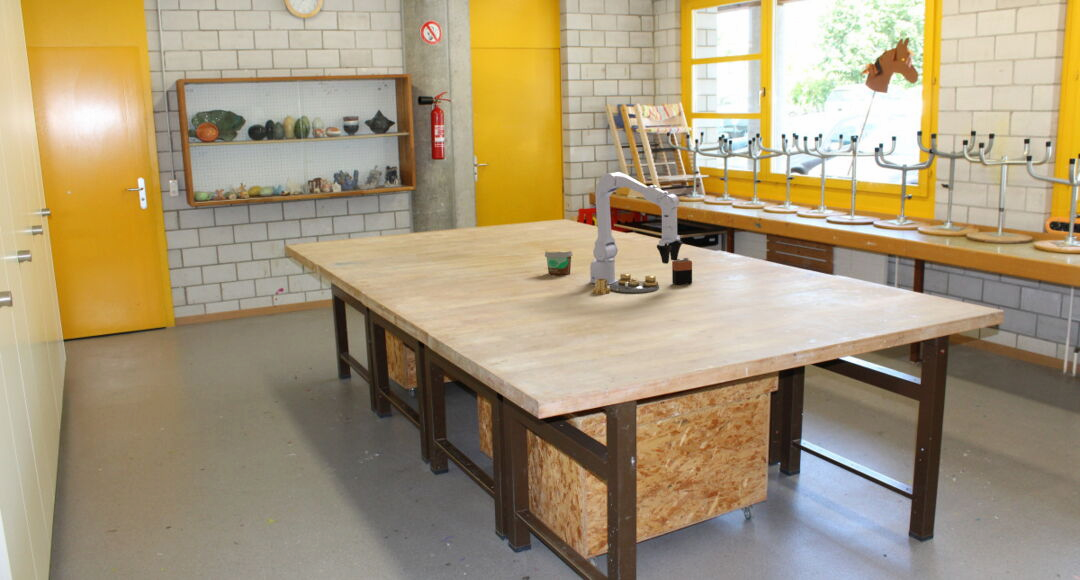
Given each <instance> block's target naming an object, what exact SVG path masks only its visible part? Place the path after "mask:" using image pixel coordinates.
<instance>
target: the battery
mask: <svg viewBox="0 0 1080 580" xmlns="http://www.w3.org/2000/svg"><path fill="white" fill-rule="evenodd" d="M671 261H672V263H671V265H672V267H671V271H672V273H671V274H672V277H671V278H672V279H671V280H672V281H671V282H672V284H673V285H675V286H681V285H682V286H683V285H692V284H693V261H692V260H690V257H683V258H682V259H680V258H677V260H671Z"/></svg>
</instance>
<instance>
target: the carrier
mask: <svg viewBox="0 0 1080 580" xmlns="http://www.w3.org/2000/svg"><path fill="white" fill-rule="evenodd" d="M631 276H632V275H631V273H621V274H620V278H619V279H617V280H618V282H615V283H612V284H609V288H610V292H614V293H618V294H619V293H620V294H634V295H635V294H648V293H652V292H657V291H658V290H659V289H660V285H659V280H656V278H657V276H656V275H645V277H644V280H642V281H641V280H639V279H638V278H634V277H633V278H632V277H631Z"/></svg>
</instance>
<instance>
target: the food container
mask: <svg viewBox="0 0 1080 580" xmlns="http://www.w3.org/2000/svg"><path fill="white" fill-rule="evenodd" d="M544 257H545V258H546V263H547V272H548V275H549V274H550V275H549V276H552V275H555V276H554V277H563V275H564V276H569V275H571V268H572V267H571V265H572V257H573V252H572V250H569V251H564V252H562V251H554V252H553V251H552V252H550V251H548V250H545V252H544Z"/></svg>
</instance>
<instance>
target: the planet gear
mask: <svg viewBox="0 0 1080 580" xmlns="http://www.w3.org/2000/svg"><path fill="white" fill-rule="evenodd" d="M594 284H595V285H594V287H593V288H592V294H596V295H606V294H610V293H611V290H610V287H608V284H607V279H596V280H595V283H594Z"/></svg>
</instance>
